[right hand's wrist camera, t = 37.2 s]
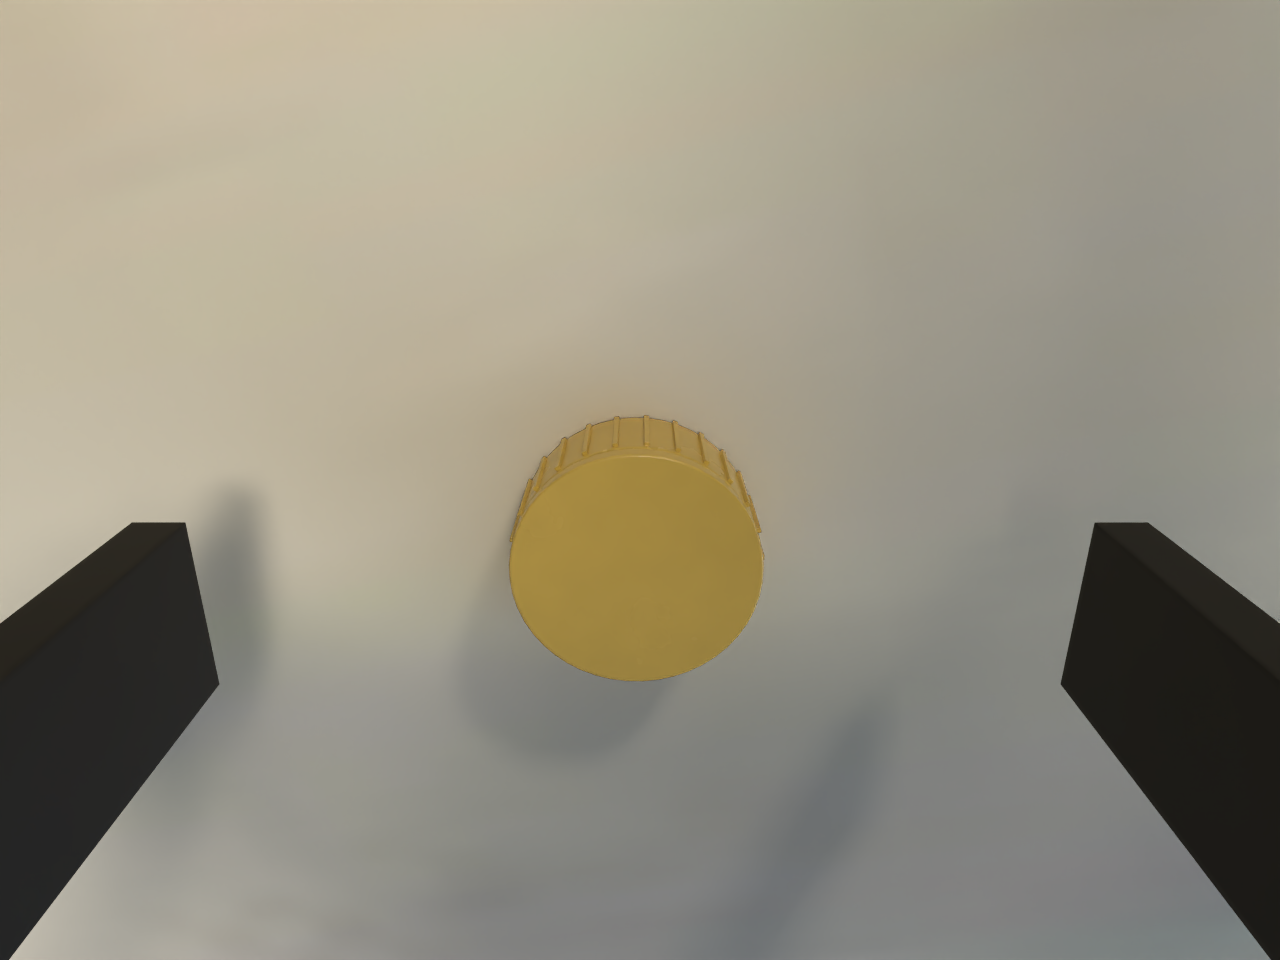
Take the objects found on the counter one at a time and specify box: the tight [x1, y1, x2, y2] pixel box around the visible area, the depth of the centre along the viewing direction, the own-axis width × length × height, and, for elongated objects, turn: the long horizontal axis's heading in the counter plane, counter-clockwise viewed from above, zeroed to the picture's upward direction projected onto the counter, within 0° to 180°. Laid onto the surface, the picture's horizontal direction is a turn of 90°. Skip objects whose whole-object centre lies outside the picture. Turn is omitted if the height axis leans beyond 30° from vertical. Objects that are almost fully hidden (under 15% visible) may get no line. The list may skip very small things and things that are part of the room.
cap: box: [509, 415, 764, 681], centre depth 15 cm, size 4×4×2 cm
